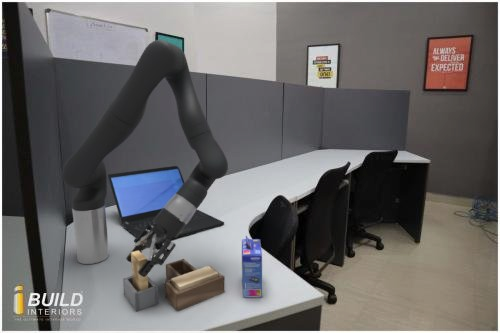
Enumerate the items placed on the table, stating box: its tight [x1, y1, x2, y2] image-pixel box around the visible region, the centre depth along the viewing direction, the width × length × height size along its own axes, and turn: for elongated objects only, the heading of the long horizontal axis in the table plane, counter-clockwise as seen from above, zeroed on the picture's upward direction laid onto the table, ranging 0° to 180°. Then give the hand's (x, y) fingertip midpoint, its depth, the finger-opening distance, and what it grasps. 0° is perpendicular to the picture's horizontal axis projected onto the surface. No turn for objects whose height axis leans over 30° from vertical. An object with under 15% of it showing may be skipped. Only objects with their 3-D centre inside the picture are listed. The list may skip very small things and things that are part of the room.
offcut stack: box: [171, 265, 219, 292], centre depth 88 cm, size 5×12×5 cm, turn 128°
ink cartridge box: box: [241, 235, 264, 298], centre depth 91 cm, size 10×6×14 cm, turn 2°
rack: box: [164, 258, 226, 312], centre depth 91 cm, size 16×14×4 cm
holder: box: [122, 275, 159, 312], centre depth 86 cm, size 9×6×4 cm, turn 38°
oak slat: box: [130, 250, 149, 292], centre depth 85 cm, size 6×2×12 cm, turn 39°
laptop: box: [107, 165, 225, 241], centre depth 138 cm, size 33×38×19 cm
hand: (134, 268), depth 84 cm, fingers open, 8 cm apart
